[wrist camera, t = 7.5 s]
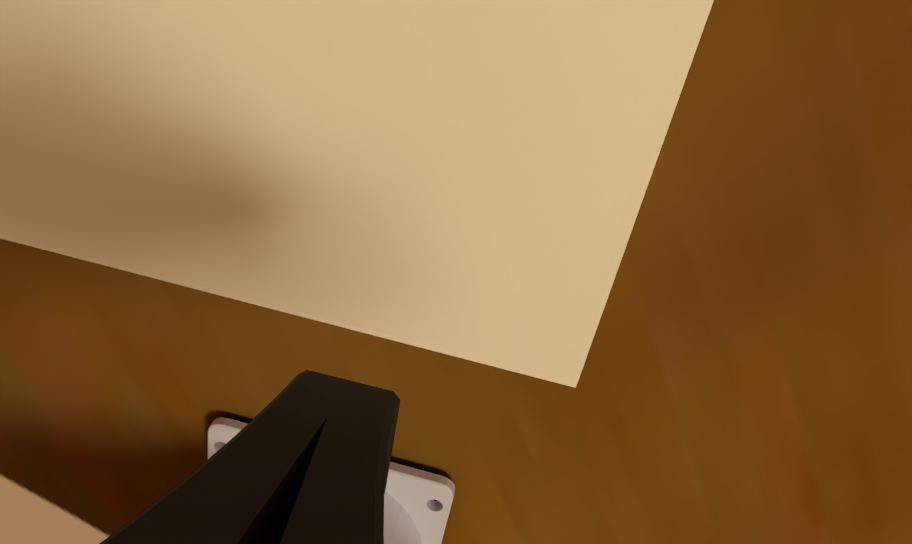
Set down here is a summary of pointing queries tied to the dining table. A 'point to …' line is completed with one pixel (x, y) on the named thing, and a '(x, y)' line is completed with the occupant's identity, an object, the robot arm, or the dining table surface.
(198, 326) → the dining table surface
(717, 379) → the dining table surface
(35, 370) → the dining table surface
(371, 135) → the board
